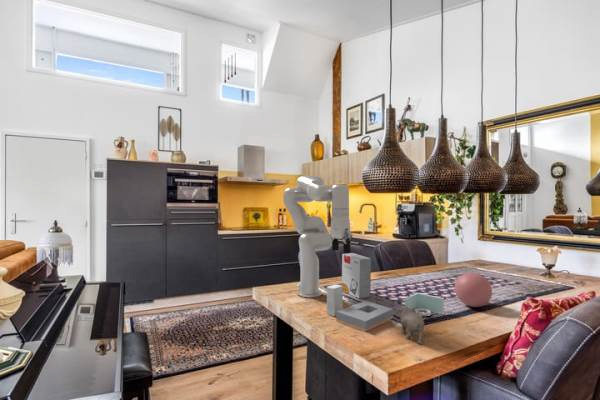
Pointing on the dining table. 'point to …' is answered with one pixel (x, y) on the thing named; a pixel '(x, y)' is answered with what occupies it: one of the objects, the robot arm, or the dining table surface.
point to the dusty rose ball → (473, 289)
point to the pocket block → (364, 315)
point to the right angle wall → (425, 304)
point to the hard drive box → (356, 275)
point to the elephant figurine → (412, 323)
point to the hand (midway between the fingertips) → (340, 251)
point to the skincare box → (334, 299)
